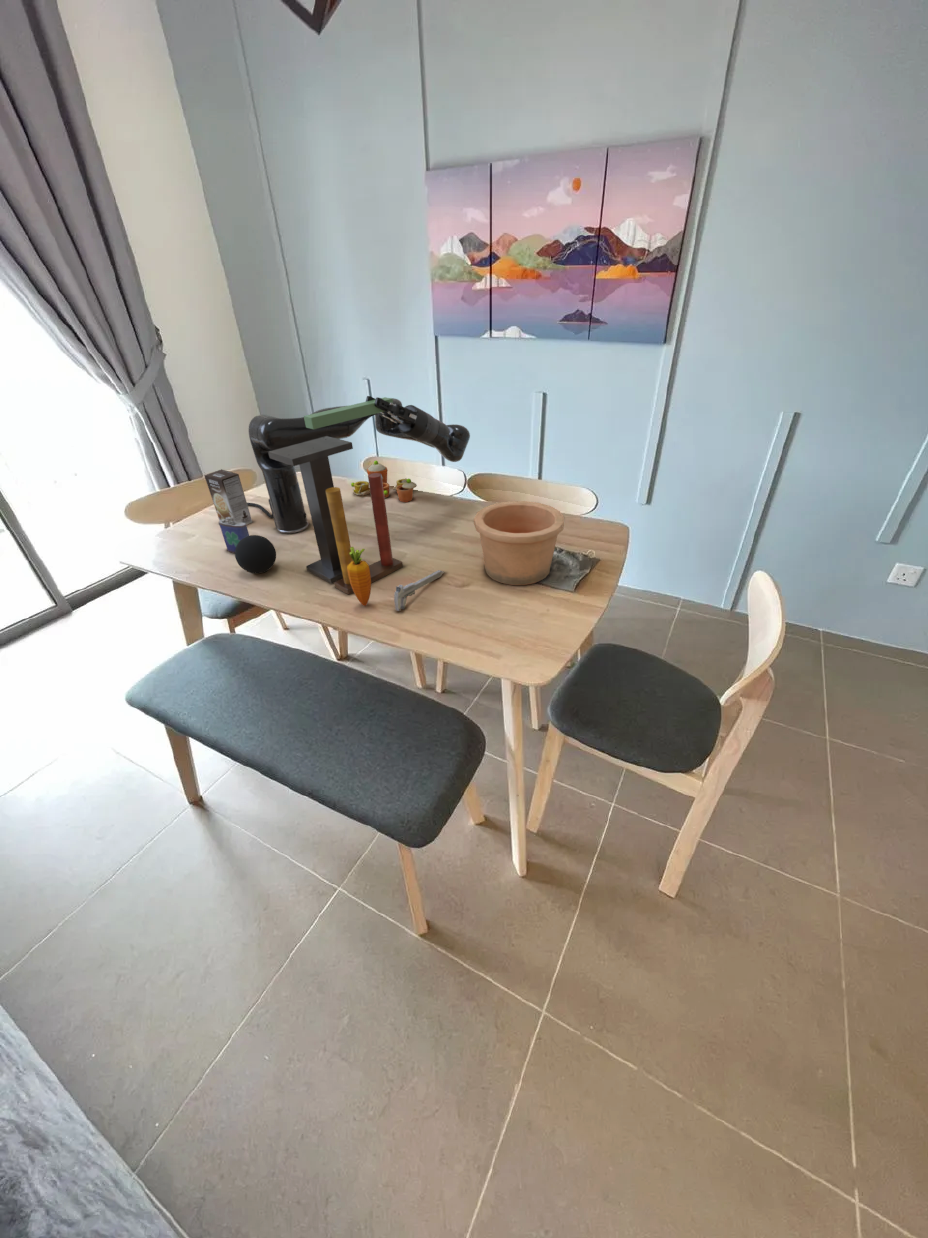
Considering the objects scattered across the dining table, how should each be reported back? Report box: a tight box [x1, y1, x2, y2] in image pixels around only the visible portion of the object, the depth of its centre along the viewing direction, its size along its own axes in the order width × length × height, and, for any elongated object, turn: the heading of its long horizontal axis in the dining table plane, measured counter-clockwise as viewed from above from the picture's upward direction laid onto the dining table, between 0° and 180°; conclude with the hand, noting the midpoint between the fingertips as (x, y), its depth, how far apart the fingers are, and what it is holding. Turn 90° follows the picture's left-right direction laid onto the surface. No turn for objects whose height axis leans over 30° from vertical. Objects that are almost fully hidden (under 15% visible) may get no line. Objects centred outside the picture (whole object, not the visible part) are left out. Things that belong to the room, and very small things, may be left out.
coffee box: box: [204, 468, 253, 526], centre depth 155 cm, size 9×6×16 cm
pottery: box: [473, 500, 565, 586], centre depth 123 cm, size 22×22×14 cm
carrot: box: [347, 546, 372, 607], centre depth 112 cm, size 5×5×15 cm
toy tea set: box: [350, 460, 418, 503], centre depth 174 cm, size 26×16×10 cm, turn 63°
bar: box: [303, 396, 393, 429], centre depth 118 cm, size 24×3×2 cm, turn 138°
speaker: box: [234, 534, 277, 574], centre depth 129 cm, size 10×10×10 cm
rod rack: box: [326, 473, 404, 595], centre depth 120 cm, size 18×6×25 cm, turn 138°
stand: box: [268, 436, 354, 585], centre depth 122 cm, size 16×11×32 cm
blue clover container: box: [218, 516, 250, 554], centre depth 139 cm, size 9×3×11 cm, turn 68°
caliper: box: [393, 569, 445, 612], centre depth 118 cm, size 20×1×6 cm, turn 152°
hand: (371, 400), depth 121 cm, fingers closed on bar, 3 cm apart
